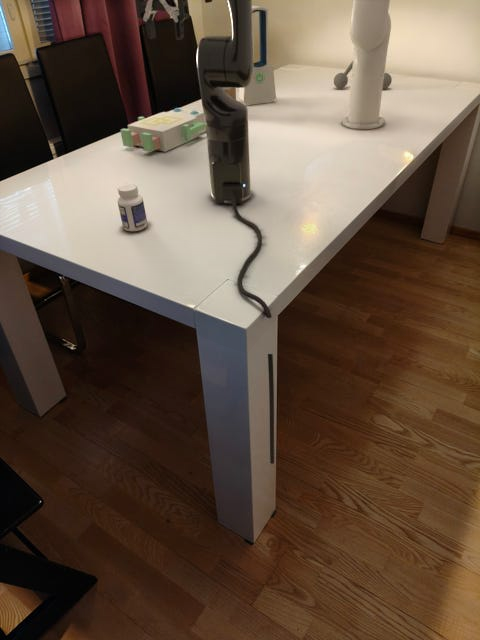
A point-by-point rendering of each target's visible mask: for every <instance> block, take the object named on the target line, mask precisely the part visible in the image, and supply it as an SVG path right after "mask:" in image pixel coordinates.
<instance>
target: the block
mask: <svg viewBox="0 0 480 640" xmlns="http://www.w3.org/2000/svg"><path fill="white" fill-rule="evenodd" d="M223 89H224V91H225V92H226V93H227V94H228V95H229V96H230V97H232V98H233V99H235V100H237V90H236V89H237V88H227V87H223Z"/></svg>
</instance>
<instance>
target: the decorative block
mask: <svg viewBox="0 0 480 640" xmlns="http://www.w3.org/2000/svg"><path fill="white" fill-rule="evenodd" d="M203 133H206V122H205V115H204V111H203V110H202V111H201V110H195V109H189V108H182V107H175V108H174V109H170V110H169V111H162V112H161V111H160V112H158V113H156V114H154V115H151V116H148V117H146V118H145V116H138V117H137V121H134V122H131V123H129V124H127V128H124V127H123V128H121V129H120V135H121V141H122V146H123V147H128V148H131V147H134V146H137V147H141V148H143V151H145V152H153V151H160V152H164V153H165V152H168V151H170V150H172V149H174V148H177V147H179V146H182V145H183V144H186V143H188V142H190V141H192V140H194V139H197V138H199V137H200V135H201V134H203Z"/></svg>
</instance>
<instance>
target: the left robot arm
mask: <svg viewBox="0 0 480 640" xmlns="http://www.w3.org/2000/svg"><path fill="white" fill-rule="evenodd" d="M176 1H177V2H176ZM225 1H226V5H227V7H228V10H229V15H230V21H231V22H230V23H231V35H205V36H203V37H202V38H201V39H200V40H199V42H198V45H197V49H196V70H197V78H198V84H199V92H200V99H201V107H202V112H204V115H205V122H206V131H205V133H206V144H207V155H208V166H209V167H208V168H209V179H210V189H211V193H210V195H211V200H212V201H214V203H215V204H216V205H232V208H233V212H234V215H235V217H236V218H237V219H238V220H239V221H240V222H241V223H243V224H244V225H246V226H248V227H251V228H253V230H254V231H255V233H256V235H257V242H256V243H257V244H256V246H255V248H254V250H253V251H252V252H251V253H250V255H249V256H248V257H247V258H246V260H244V263H243V265H242V267H241V269H240V271H239V274H238V276H237V281H236V282H237V288H238V290H239V292H240V293H241V294H242V295H243V296H244V297H246V298H249V299H250V300H253V301H255V302H256V303H258V305H260V306H261V307H262V309H263V311H264V313H265V317H266V318H268V319H271V318H272V316H273V315H272V313H271V310H270V307H269V306H268V304H267V303H266V302H265V301H264V300H263V299H262V298H261V297H260V296H258V295H256V294H253V293H251V292H249V291H247V290H246V289H245V288H244V285H243V278H244V275H245V273H246V272H247V268H248V267H249V264H250V263H251V261H252V260H253V259H254V258H255V257H256V256H257V254H258V253H259V251H260V250H261V247H262V242H263V234H262V232H261V230H260V228H259V227H258V226H257V224H256V223H253V221H252V222H251V221H249V220H247V219H245V218H243V217H242V215H241V214H240V212H239V210H238V206H237V205H242V204H243V202H246V201H248V200H250V198H251V196H252V190H251V165H250V162H251V161H250V138H249V135H250V134H249V111H248V107H247V105H246V104H245V103H244V102H241V101H239V100H238V99H236V100H235V99H233V98H232V97H230V96H229V95H228V94H227V93H226V92H225V91H224V89H223V87H227V88H236V89H239V88H245V87H247V86H248V85H249V84H250V82H251V80H252V76H253V69H254V63H255V46H254V45H255V43H254V23H253V22H254V21H253V13H252V6H253V0H225ZM135 7H136V17H137V18H138V20H140V19H141V20H142V21H143V22H144V23H145V30H146V35H147V37H148V39H149V40H154V39H157V32H156V31H157V30H156V24H155V20H154V18H155V16H156V13H158V12H159V11H161V12H165V11H166V13H167V14H168V15H170V16H171V18H172V20H173V21H174V22H173V26H174V35H175V40H176V41H182V40H183V39H184V37H185V28H184V21H185V20H186V19H189V18H190V7H189V0H135ZM273 355H274V354H273V353H267V365H268V366H267V369H268V397H269V398H268V400H269V463H270V464H271V465H273V464H275V389H274V388H275V385H274V384H275V383H274V381H275V379H274V356H273Z"/></svg>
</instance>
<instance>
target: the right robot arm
mask: <svg viewBox="0 0 480 640" xmlns="http://www.w3.org/2000/svg"><path fill="white" fill-rule="evenodd" d="M212 2H213V0H204V3H205V4H206V3H207V4H208V3H212ZM390 2H391V0H352V5H351V6H352V7H351V14H350V24H349V36H350V40H351V43H352V44H353V46H354V47H355V49H354V48H353V49H354V50H353V57H352V61H353V66H352V69H351V80H350V91H349V101H348V102H349V103H348V114H347V116H345V117H344V118H342V125H343V126H344V127H346V128H350V129H353V130H354V129H355V130H372V129H376V128H380V127H382V126H383V125H384V121H385V120H384V119H383V118H382V117H381V116H380V112H381V106H382V105H381V104H382V103H381V102H382V95H383V89H382V88H383V80H384V73H386V72H385V71H386V63H387V56H388V49H389V44H390V37H391V30H392V20H391V15H390V13H389V9H390Z"/></svg>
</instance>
